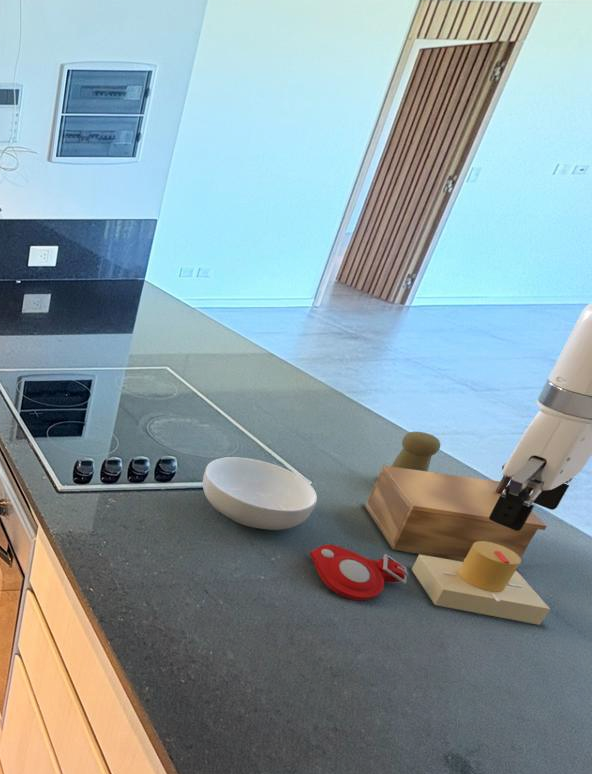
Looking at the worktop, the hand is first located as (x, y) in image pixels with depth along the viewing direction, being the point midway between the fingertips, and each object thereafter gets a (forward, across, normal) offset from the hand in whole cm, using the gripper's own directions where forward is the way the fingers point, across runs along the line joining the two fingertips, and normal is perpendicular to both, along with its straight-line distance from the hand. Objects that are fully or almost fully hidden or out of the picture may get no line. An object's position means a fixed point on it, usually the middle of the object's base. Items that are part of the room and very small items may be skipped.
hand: (522, 514), depth 83 cm
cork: (+15, -22, -21) cm, 34 cm away
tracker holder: (+14, +13, -10) cm, 22 cm away
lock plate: (+14, +1, 0) cm, 15 cm away
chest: (+15, -10, -10) cm, 21 cm away
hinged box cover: (+7, -11, -10) cm, 16 cm away
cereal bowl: (+14, +11, -28) cm, 33 cm away
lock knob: (+11, +1, 0) cm, 11 cm away
